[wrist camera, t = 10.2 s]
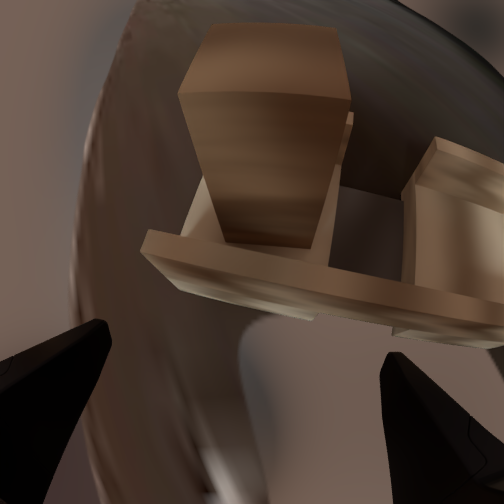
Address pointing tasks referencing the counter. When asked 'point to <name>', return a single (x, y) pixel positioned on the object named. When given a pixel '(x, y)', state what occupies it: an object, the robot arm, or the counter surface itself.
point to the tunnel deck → (368, 254)
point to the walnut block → (267, 126)
